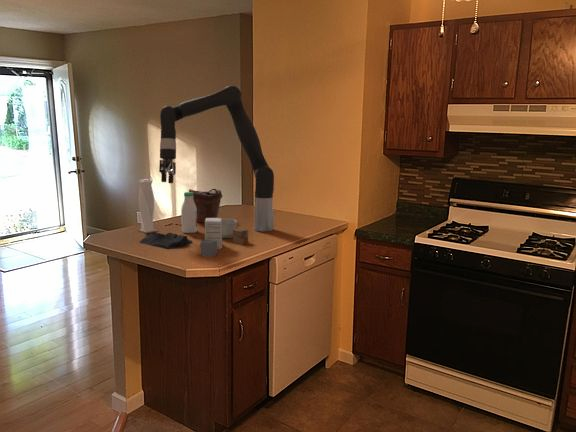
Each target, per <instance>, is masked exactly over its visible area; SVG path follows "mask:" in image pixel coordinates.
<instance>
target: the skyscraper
mask: <svg viewBox="0 0 576 432" xmlns="http://www.w3.org/2000/svg"><path fill="white" fill-rule="evenodd" d="M138 184H139V191H138V208H139V214H140V218H141V223H140V224H141V225H140V229H138V232H141V233H144V234H149V233H150V234H152V233H157V232H159V230H158V229H156V228H155V225H154V224H153V216H154V210H155V197H154V191H153V186H152V184H153V177H152V176H151V175H150V176H149V177H148V178H143V179H142V178H140V179H139V180H138Z"/></svg>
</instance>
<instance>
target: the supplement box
mask: <svg viewBox="0 0 576 432" xmlns="http://www.w3.org/2000/svg"><path fill="white" fill-rule="evenodd" d="M222 219H223V218H222V217H217V218H206V219H205V222H204V240H206V239H209V240H216V241H217V250H218V249H219V250H220V249H222V247H223V238H222Z"/></svg>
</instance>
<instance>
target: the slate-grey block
mask: <svg viewBox="0 0 576 432" xmlns="http://www.w3.org/2000/svg"><path fill="white" fill-rule="evenodd" d="M199 243H200V256H202V257H209V258H212V257H214V256H216V255H218V249H217V241H216V240H209V239H206V240H205V239H204V240H202V241H200V242H199Z"/></svg>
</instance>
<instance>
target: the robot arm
mask: <svg viewBox="0 0 576 432" xmlns="http://www.w3.org/2000/svg"><path fill="white" fill-rule="evenodd" d="M242 101H243V100H242V92H241V90H240V88H238V86H236V85H227V86H225V87H224V88H223V89H220V90H219V91H217V92H214V93H212V94H209V95H205V96H201V97H196V98H193V99H189V100H186V101H183V102H181V103H179V105H175V106H173V107H172V106H170V105H165V106H163V107H162V108H161V109H160V113H159V114H160V116H159V117H160V118H159V119H160V142H159V164H158V165H159V167H158V169H159V170H158V172H159V173H160V174H161V179H160V180H161V183H168V184H174V176H175V175H176V166H177V165H176V162H175V161H173V160H175V159H177V139H176V138H177V131H176V122H178V121H180V120H182V119H184V118H186V117H190V116H191V117H192V116H193V115H197V114H200V113H202V112H205V111H207V110H210V109H214V108H217V107H222V106H225V107H226V108H227V110H228V112H229V113H230V114H229V115H230V116H231V119H232V122H233V126H234V129H235V131H236V134H237V136H238V140H239V142H240V144H241V146H242V148H243V151H244V152H245V154H246V156H247V157H248V159H249V162H250V164H251V167H252V171H253V174H254V178H255V189H254V231H257V232H271V231H273V230H274V228H275V227H274V225H275V223H274V222H275V220H274V219H275V216H274V215H275V211H274V210H273V208H274V207H273V205H274V202H273V199H274V192H275V191H274V188H275V186H274V185H275V174H274V171H273V169H272V168H270V166H269V164H268V162H267V161H266V159H265V156H264V154H263V151H262V147H261V145H262V144H261V141H260V138H259V135H258V133H257V131H256V128H255V126H254V124H253V122H252V120H251V118H250V117H249V116H248V114H247V112H246V109H245V107H244V103H243V102H242ZM167 174H168V175H167ZM167 176H168V182H167Z"/></svg>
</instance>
